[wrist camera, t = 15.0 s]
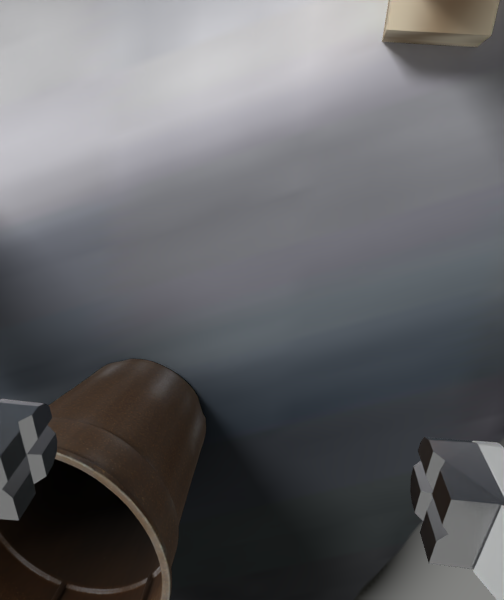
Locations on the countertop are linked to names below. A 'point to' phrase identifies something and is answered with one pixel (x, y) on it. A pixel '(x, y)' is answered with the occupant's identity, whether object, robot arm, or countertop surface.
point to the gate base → (440, 22)
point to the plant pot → (108, 490)
